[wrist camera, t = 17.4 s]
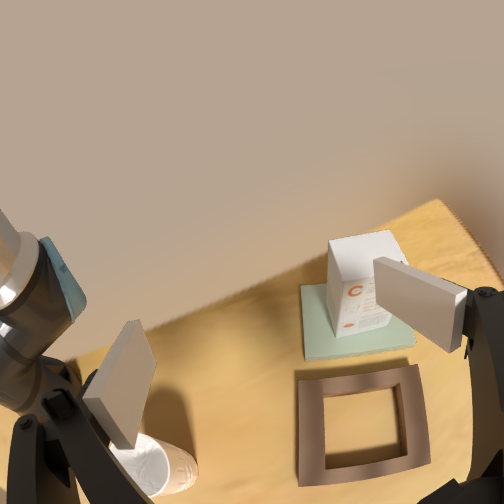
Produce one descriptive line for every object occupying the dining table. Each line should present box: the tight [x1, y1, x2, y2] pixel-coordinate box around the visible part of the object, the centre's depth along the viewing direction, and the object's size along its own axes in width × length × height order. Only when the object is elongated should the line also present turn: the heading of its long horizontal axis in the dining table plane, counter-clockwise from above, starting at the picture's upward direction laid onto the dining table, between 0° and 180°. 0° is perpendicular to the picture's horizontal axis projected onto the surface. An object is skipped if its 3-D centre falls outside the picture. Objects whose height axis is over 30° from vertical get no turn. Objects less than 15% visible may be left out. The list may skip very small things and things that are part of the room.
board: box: [301, 283, 417, 362], centre depth 39 cm, size 16×12×2 cm
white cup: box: [109, 433, 198, 498], centre depth 24 cm, size 8×8×10 cm
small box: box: [326, 229, 410, 338], centre depth 33 cm, size 8×6×13 cm
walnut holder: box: [298, 364, 431, 487], centre depth 27 cm, size 16×14×2 cm
